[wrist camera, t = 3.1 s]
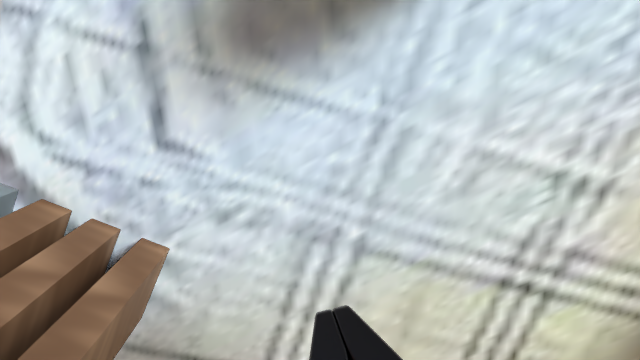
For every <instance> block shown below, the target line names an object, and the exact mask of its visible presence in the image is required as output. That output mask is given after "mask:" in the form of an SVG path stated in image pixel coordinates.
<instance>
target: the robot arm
mask: <svg viewBox="0 0 640 360" xmlns="http://www.w3.org/2000/svg"><path fill="white" fill-rule="evenodd" d="M309 360H403V359H402V358H401V357H400V356H399V355H398V354H397V353H396V352H395V351H394V350H393V349H392V348H391V347H390V346H389V345H388V344H387V343H386V342H385V341H384V340H383V339H382V338H381V337H380V336H379V335H378V334H377V333H376V332H375V331H373V330H372V329H371V328H370V327H369V326H368V325H367V324H366V323H365V322H364V321H363V320H362V319H361V318H360V317H359V316H358V315H357V314H356V313H355V312H354V311H353V310H352V309H351V308H350V307H349V306H347V305H345V306H341V307H337V308H334V309H333V311H332V310H325V311H321V312H318V313H316V316H315V323H314V330H313V337H312V344H311V351H310V359H309Z"/></svg>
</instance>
